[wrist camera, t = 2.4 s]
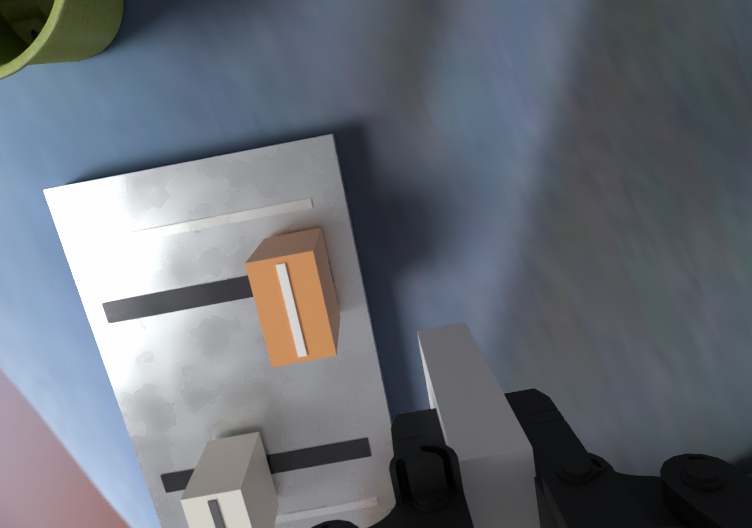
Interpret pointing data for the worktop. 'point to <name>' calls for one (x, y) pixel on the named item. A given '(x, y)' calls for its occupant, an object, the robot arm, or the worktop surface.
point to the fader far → (231, 486)
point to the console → (231, 326)
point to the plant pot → (55, 31)
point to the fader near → (295, 297)
